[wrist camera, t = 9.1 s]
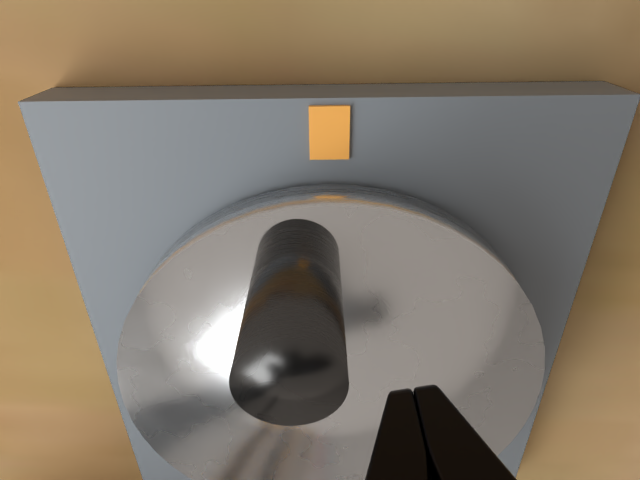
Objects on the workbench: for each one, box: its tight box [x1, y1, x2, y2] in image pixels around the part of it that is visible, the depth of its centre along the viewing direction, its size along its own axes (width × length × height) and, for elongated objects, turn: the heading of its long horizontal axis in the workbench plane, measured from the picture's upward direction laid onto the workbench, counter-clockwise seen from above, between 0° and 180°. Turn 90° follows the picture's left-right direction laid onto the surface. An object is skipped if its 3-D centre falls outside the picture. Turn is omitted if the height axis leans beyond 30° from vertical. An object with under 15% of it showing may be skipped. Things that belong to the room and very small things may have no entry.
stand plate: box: [18, 81, 640, 480], centre depth 19 cm, size 20×18×2 cm
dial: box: [116, 184, 545, 480], centre depth 15 cm, size 15×15×7 cm
